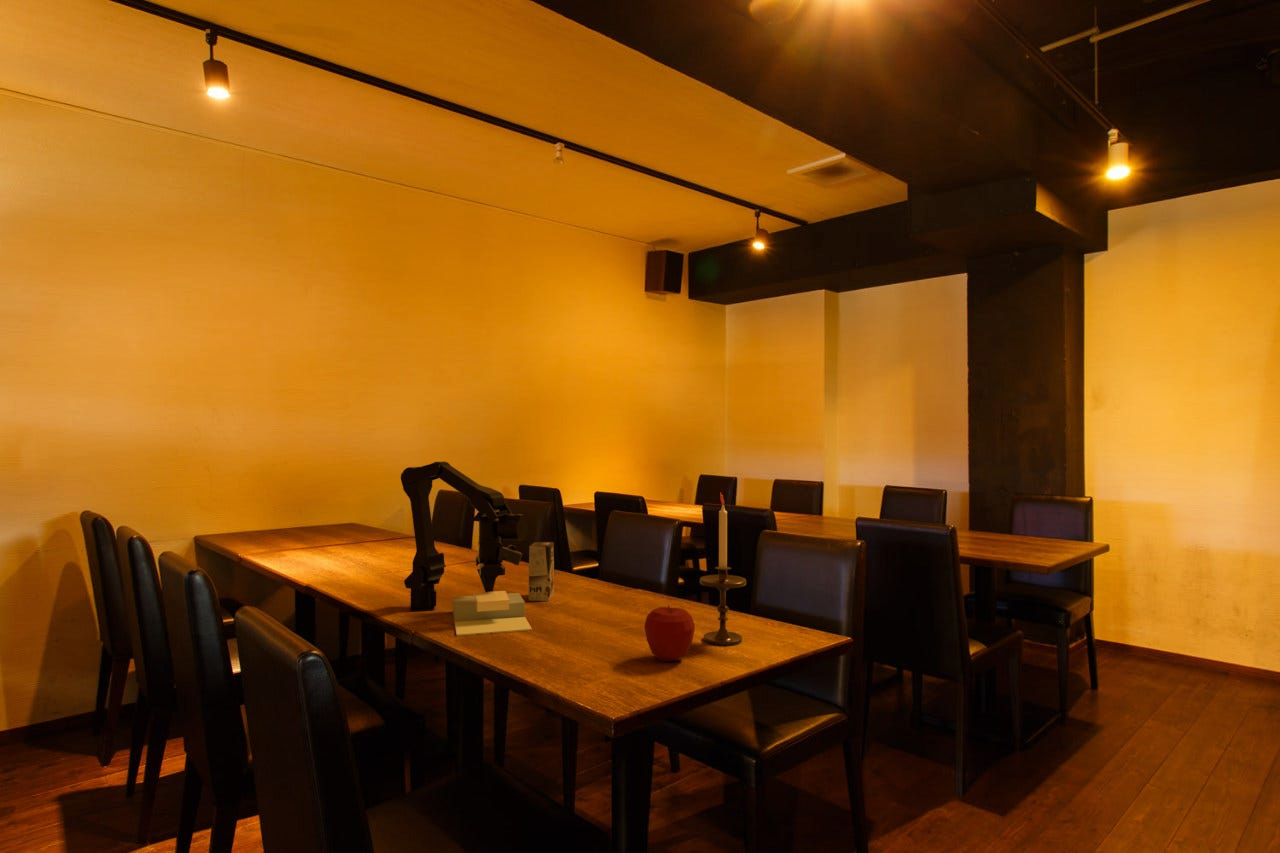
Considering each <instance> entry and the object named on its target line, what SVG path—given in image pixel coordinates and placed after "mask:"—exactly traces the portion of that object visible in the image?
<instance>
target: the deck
mask: <svg viewBox="0 0 1280 853" xmlns="http://www.w3.org/2000/svg"><path fill="white" fill-rule="evenodd" d="M507 596H508V598H509V610H495V611H481V612H477V609H476V605H475V595H463V596H461V595H459V596H452V615H453V620H454V623H455V622H461V621H475V620H489V619H504V618H518V617H526V616H525V614H526V612H525V610H526V607H525V605H526V602H525V600H524V599H523V597H522V595H521V594H520V593H519V592H513V593H512V592H511V593H510V592H509V593H507Z"/></svg>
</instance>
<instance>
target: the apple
mask: <svg viewBox="0 0 1280 853" xmlns="http://www.w3.org/2000/svg"><path fill="white" fill-rule="evenodd" d="M645 619H646V620H645V623H644V631H645V632H644V633H645V637H646V641H647V644H648V647H649V649H650V651H651V652H650V653H651V654H652V655H653V656H655V657H656V658H657V659H658V660H660V661H662V662H675V661H678V660H680V659H682V658H683V657H685V655H687V654H688V652H689V649H690V648H691V645H692V642H694V641H693V640H694V635H695V630H696V629H695V628H696V626H695V623H694V620H693V617H692V615H691V613H689V612H688V611H687V610H685V609H684V608H680V607H670V605H667V606H660V607H657V608H656V607H655V608H654V609H652V610H651V611H650V612H648V614H647V615H646V617H645Z"/></svg>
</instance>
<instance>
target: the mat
mask: <svg viewBox="0 0 1280 853" xmlns="http://www.w3.org/2000/svg"><path fill="white" fill-rule="evenodd" d="M454 626H455V627H454V628H455V632H456V637H464V636H465V635H466V636H477V634H479V635H488V634H489V635H490V633H492V634H501V633H502V634H503V633H504V634H505V633H515V632H530V630H531V631H533V628H532V627H531V625H530V623H529V622H528V620H527V618H526V616H525V617H518V618H504V619H489V620H475V621H461V622H454ZM466 636H465V637H466Z"/></svg>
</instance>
